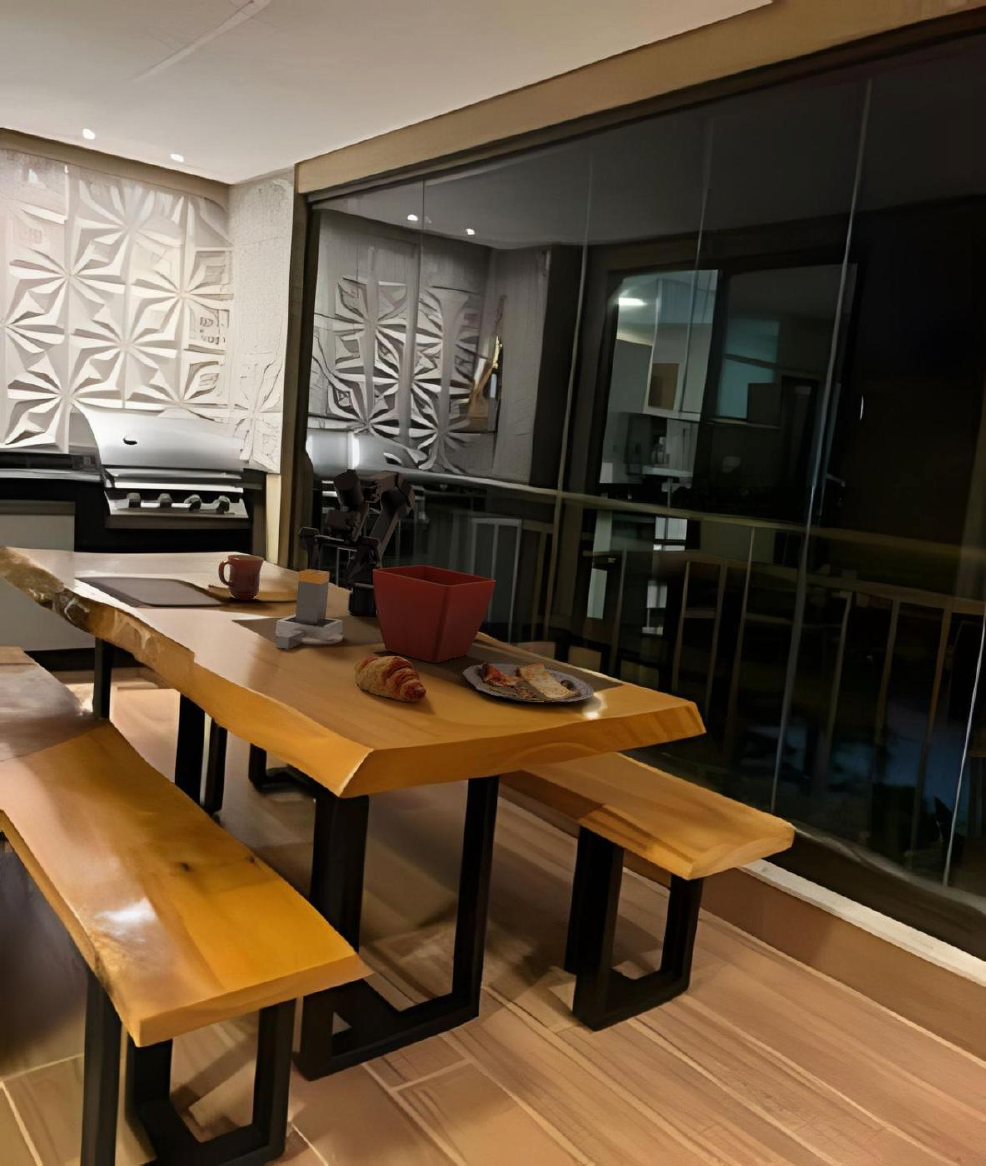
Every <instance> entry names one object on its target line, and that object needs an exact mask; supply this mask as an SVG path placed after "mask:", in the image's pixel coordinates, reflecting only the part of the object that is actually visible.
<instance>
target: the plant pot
mask: <svg viewBox="0 0 986 1166" xmlns="http://www.w3.org/2000/svg"><path fill="white" fill-rule="evenodd" d="M496 582H497V580H495V579H493V578H488V577H485V576H484V577H483V576H479V575H474V574H469V573H464V572H459V571H454V570H450V569H445V568H440V567H436V566H431V565H421V564H419V565H411V566H410V565H408V566H398V567H397V566H396V567H385V568H384V567H382V569H373V584H374V595H375V603H376V610H377V611H376V613H377V616H376V617H377V620H378V625H379V626H378V627H379V630H380V633H381V639H382V642H383V645H384V649H385V651H388V652H391V653H395V654H400V655H402V656H406V657H410V658H413V659H418V660H420V661H424V662H428V663H435V664H436V663H441V662H444V661H449V660H448V659H450V660H452V659H451V658H454V659H458V658H461V656H462V657H465V656H464V655H466V656H467V655H468V653H469V651H470V649H471V647H472V645H473V643H474V641H475V639H476V637H477V635H478V632H479V630H480V629H481V626H482V624H483V621H484V619H485V616H486V613H487V611H488V610H489V609H488V608H489V606H490V603H491V601H492V597H493V594H494V591H495V586H496ZM457 657H458V658H457Z"/></svg>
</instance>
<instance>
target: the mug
mask: <svg viewBox="0 0 986 1166" xmlns="http://www.w3.org/2000/svg"><path fill="white" fill-rule="evenodd" d="M264 561H265V558H263V557H261V556H258V555H250V554H230V555H227V560H222V561H221V562H220V563H219V565H218V578H219V580H220V582H221V583H222V584H223V585H225V586H227V589H229V590H230V592H231V594H232V595H233V596H234V597H235V598H237V599H241V600H240V601H250V602H251V601H252V600H251V599H253V598H254V596H256V595H257V593H258V592H260V581H261V580H260V579H261V569H262V566H263V564H264ZM227 565H229V576H228V581H227V580H226V577H225V567H226V566H227Z"/></svg>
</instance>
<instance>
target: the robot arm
mask: <svg viewBox="0 0 986 1166" xmlns="http://www.w3.org/2000/svg"><path fill="white" fill-rule="evenodd" d="M332 480H333V481H332V485H333V486H334V487H333V488H334V490H335V494H336V497H337V500H338V503H339V504H340V505H342V509H341V510H338V509H331V508H330V509H328V510H327V513H326V514H327V515H326V517H325V520H324V521H325V522H324V523H325V525H327V526H328V528H327V533H328V534H330V535H329V536H327V535H321V533H320V530H319V528H312V527H306V526H302V527H301V528H300V529H299V531H298V533H297V536H298V540H299V542H300V545H301V546H300V547H301V549H302V550H303V551H305V552H306V554H307V565H306V566H307V568H306V570H307V569H312V570H314V567H315V565H316V563H317V560H318V558H319V557H320V555H321V554H320V551H321V550H322V546H326V547H333V548H338V549H340V550H346V551H351V552H352V555H351V556H350V558H349V561H348V562H347V563H346V565H345V568H344V569H345V570H344V580H345V587H346V588H351V592H348V598H347V611H348V612H349V615H354V616H369V617H378V616H377V610H376V603H375V595H374V584H373V569H382V568H383V564H382V558H383V556H384V552H385V550H386V549H387V546H388V544H389V542H390V539H391V537H392V535H393V533H394V530H395V528H396V526H397V524H398V522H399V521H400V520H401V519H404V518H405V517H407V516H408V515H409V513H410V511H411V510H412V508H413V507H415V504H416V494H415V492H414V489H413V486H412V485H411V484H410V483H409V482H408V481H407V480H406V479H404V476H403V473H401V472H400V471H395V470H386V469H384V470H382V471H381V472H379V473H376V474H374V475H370V476H359V475H358V473H357V470H356V469H352V468H347V469H346V471H344V472H341V473H338V475H336V476H334V478H333V479H332ZM378 501H380V508H381V511H380V513H379V515H378V517H377V520H376V521H375V524H374V526H373V528H372V529H371V532H370V534H369V536H366V535H365V536H362V534H363V533H362V528H363V525H364V523H365V521H366V519H369V518H370V513H369V511H370V506H369V504H368V503H374V504H375V503H377V502H378ZM361 536H362V537H361ZM358 537H361V539H360V542H359V541H357V540H358Z"/></svg>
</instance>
